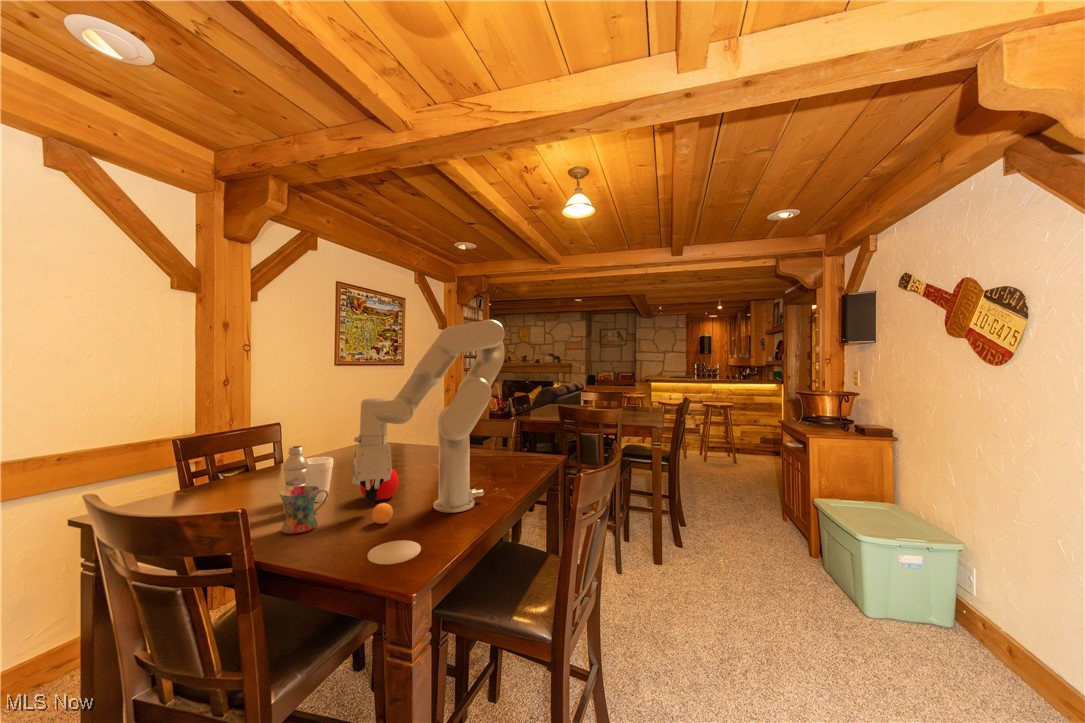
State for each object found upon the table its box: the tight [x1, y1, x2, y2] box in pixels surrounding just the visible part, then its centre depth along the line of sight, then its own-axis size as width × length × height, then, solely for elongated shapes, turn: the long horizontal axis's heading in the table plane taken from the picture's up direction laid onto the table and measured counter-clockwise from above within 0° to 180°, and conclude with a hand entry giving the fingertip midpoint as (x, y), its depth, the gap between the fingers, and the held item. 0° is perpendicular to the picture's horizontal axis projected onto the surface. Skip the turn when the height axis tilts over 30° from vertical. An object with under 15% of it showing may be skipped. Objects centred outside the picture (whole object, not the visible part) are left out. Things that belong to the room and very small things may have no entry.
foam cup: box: [306, 456, 334, 503], centre depth 136 cm, size 10×9×13 cm
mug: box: [279, 485, 329, 535], centre depth 113 cm, size 12×9×11 cm
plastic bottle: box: [282, 445, 308, 514], centre depth 123 cm, size 6×7×20 cm
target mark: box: [367, 539, 422, 566], centre depth 99 cm, size 12×12×1 cm
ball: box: [371, 502, 394, 525], centre depth 116 cm, size 6×6×6 cm
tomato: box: [359, 468, 400, 501], centre depth 137 cm, size 11×12×10 cm
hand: (370, 501), depth 123 cm, fingers closed
